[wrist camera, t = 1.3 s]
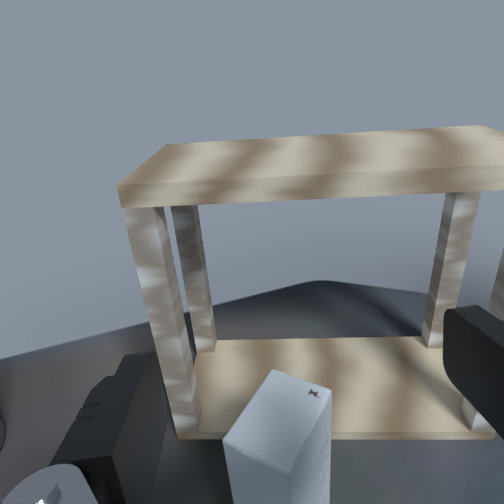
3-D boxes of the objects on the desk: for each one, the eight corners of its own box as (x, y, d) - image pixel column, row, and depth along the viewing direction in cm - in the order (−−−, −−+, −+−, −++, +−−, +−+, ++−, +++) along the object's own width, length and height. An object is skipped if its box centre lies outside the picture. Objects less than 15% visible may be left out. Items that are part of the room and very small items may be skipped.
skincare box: (279, 476, 30) (272, 364, 25) (330, 504, 28) (335, 388, 22) (238, 555, 25) (218, 438, 20) (295, 594, 23) (291, 476, 18)
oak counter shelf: (177, 439, 34) (116, 185, 23) (201, 347, 44) (166, 144, 34) (493, 439, 32) (588, 159, 21) (438, 343, 42) (482, 124, 31)
